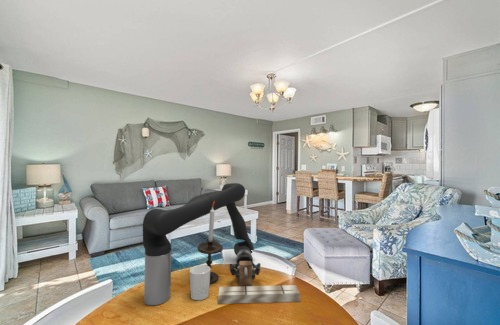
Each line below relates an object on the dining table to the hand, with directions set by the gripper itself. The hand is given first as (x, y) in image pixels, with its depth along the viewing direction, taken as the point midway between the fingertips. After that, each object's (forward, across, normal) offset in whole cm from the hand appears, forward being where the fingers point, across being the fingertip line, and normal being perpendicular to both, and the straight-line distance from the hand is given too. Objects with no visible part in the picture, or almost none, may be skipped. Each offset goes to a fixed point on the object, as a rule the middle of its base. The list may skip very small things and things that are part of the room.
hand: (245, 277), depth 88 cm
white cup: (0, -18, +7) cm, 19 cm away
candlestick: (-13, -16, +6) cm, 22 cm away
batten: (+3, +5, +6) cm, 9 cm away
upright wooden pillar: (0, 0, +6) cm, 6 cm away
